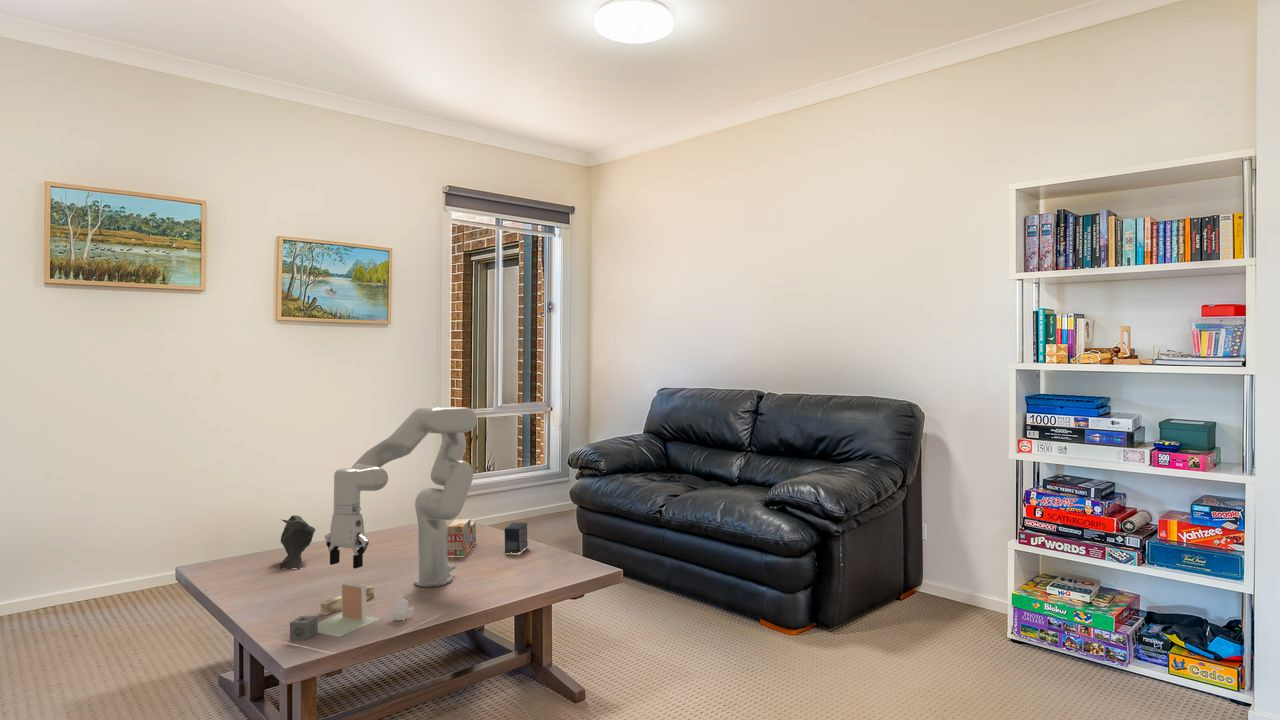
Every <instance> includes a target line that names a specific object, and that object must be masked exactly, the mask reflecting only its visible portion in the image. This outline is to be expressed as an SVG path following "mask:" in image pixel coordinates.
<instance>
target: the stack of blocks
mask: <svg viewBox="0 0 1280 720" xmlns="http://www.w3.org/2000/svg"><path fill="white" fill-rule="evenodd" d="M447 531H448V535H447V536H448V556H464V555H465V554H466V553H467V551H468V550H469V549H470V548H471V546H472V545H474V543H475V542H476V543H477V530H476V521H475V520H473V521H471V518H454V519H453V521H452V522H450V524H447ZM474 546H475V545H474ZM471 549H472V548H471ZM467 554H468V553H467ZM467 554H466V555H467ZM466 555H465V556H466ZM465 556H464V557H465Z"/></svg>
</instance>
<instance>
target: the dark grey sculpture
mask: <svg viewBox="0 0 1280 720" xmlns="http://www.w3.org/2000/svg"><path fill="white" fill-rule="evenodd" d="M280 520H281V521H282V522H284V523H286V524H285V526H284V529H283V532H282V533H281V537H280V543H281V544H282V546H283V547H284V550H285V552H286V554H287V555H286V557H285V558H284V559H283V560H282V561H281V563H279V568H297V569H296V570H300V568H303V567H305V568H306V566H305V565H304V564H303V563H302V561H303V560H302V553H303V552H304V551H305V550H306V548H307V547H309V546H310V545H311V543H312V541H313V537H314V534H315V532H316V528H315V527H314V526H311V525H309V523H307V522H306V521H305V520H304V519H303V518H302V517H301V516H300V515H295V514H294V515H292V516H290V517H289V518H288V520H287V519H280ZM303 569H304V568H303Z"/></svg>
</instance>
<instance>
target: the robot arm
mask: <svg viewBox="0 0 1280 720" xmlns="http://www.w3.org/2000/svg"><path fill="white" fill-rule="evenodd" d="M477 421H478V418H477V414H476V412H475V411H474V410H473V409H471V408H470V407H462V406H461V407H460V406H443V407H426V406H425V407H424V406H423V407H418V408H416V409H414V411H412V412H411V413H410V415H408V417H407V418H406V419H404V421H403V422H402V423H401V424H400V425H399V426H398V427H397V429H395V430H394V431H393V433H392V434H391V435H389V436H388V437H387V438H385V439H383V440H381V442H379V443H377V444H376V445H374V446H372V447H371V448H370V449H368V450H367V451H365V452H364V453H363V454H361V456H360V457H359V458H358V459H357V460H356V462H354V464H352V466H351V467H349V468H347V467H346V468H340V469H336V471H335V472H334V474H333V514H332V516H331V522H330V532H329V533H327V534H326V535H324V539H325V541H326V543H325V545H326V546H327V548H328V552H329V565H330V566H332V565H336V564H339V563H340V559H341V558H340V556H341V555H340V553H341V551H340V549H339V548H346V549H351V550H352V551H353V553H354V555H353V556H352V568H353V569H358V568H361V567H363V564H364V562H363V561H364V559H363V558H364V556H363V555H364V554H365V552H366V550H367V549H368V545H369V543H370V540H369V539H368V538H366V537H365V526H364V525H365V524H364V518H363V517H364V516H363V514H362V513H361V510H362V507H361V492H363V491H364V492H375V491H376V492H377V491H379V490H382V489H383V488H385V487H386V486H387V484H388V482H389V475H388V473H387V471H386V470H385V469H384V468H382V467H383V466H384V465H386V464H388V463H390V462H392V461H395V460H397V459H401V458H403V457H405V456H406V457H407V456H409V455H410V454H411V453H412V452H413V451H414V450H415V448H416V447H417V446H418V445H419V444H420V443H421V442H422V441H423V439H425V438H426V436H427V435H428V434H440V437H441V443H440V447H439V450H438V453H437V455H436V457H435V460H434V463H433V465H432V468H431V471H430V480H431V481H432V482H433V483H434V484H435V485H437V486H441V487H443V489H442V488H437V487H436V488H434V487H430V488H424V489H423V490H421V491H420V492H419V493H418V494H417V496H416V498H415V503H414V504H415V505H414V508H415V513H416V518H417V527H418V528H417V529H418V530H417V531H418V534H417V535H418V536H417V537H418V576H417V577H415V578H414V580H413V583H414V585H415V586H417V587H421V588H422V587H424V588H432V587H433V586H435V587H440V585H441V586H444V584H445V585H448V584H450V583H451V582H453V575H452V574H451V572H452V571H454V570H456V569H457V565H456V564H455V563H453V564H448V563H449V561H448V560H449V558H448V536H447V535H448V531H447V526H448V524H447V521H450V520H455V519H456V518H457V517H458V516H459V514H460V513H461V511H462V509H463V507H464V504H465V502H466V499H467V496H468V493H469V491H470V489H471V486H472V483H473V477H474V472H473V468H472V465H471V464H470V463H469V462H468V461H466V460H463V459H464V456H465V452H466V449H467V448H466V447H467V440H466V439H467V438H466V436H465V433H468V432H470V431H472V430H473V429H475V427H476V425H477ZM447 583H448V584H447Z"/></svg>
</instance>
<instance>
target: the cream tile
mask: <svg viewBox="0 0 1280 720" xmlns="http://www.w3.org/2000/svg"><path fill="white" fill-rule="evenodd" d="M366 586H367V585H366V584H363V583H362V584H361V583H355V582H348V581H345V582H342V583H341V595H342V610H341V613H342V618H347V619H352V620H357V621H362V622H363V621H365V620H367V618H366V616H367V600H366Z"/></svg>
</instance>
